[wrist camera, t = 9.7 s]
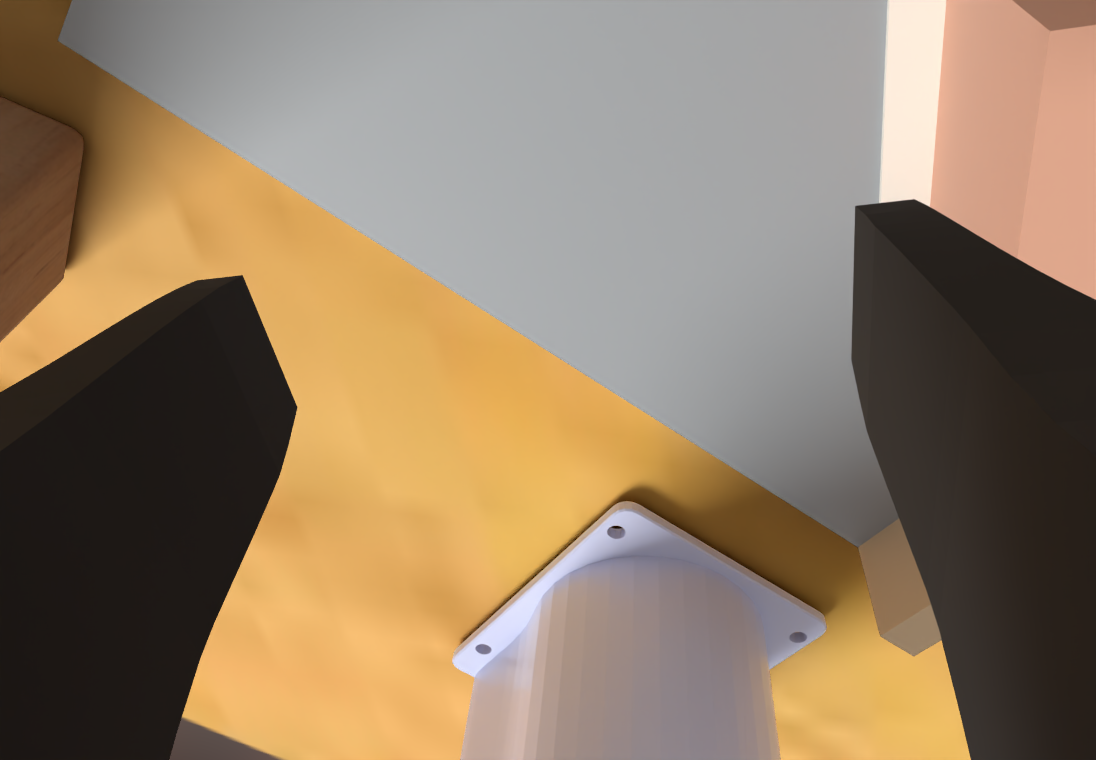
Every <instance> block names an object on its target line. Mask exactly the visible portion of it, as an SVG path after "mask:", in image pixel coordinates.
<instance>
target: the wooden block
mask: <svg viewBox="0 0 1096 760" xmlns="http://www.w3.org/2000/svg"><path fill="white" fill-rule="evenodd" d="M83 149H84V142H83V138H82V135H81V134H80V133H78V132H77V131H76V130H75V129H73V128H72V127H69V126H67V125H65V124H62V123H60V122H58V121H55V120H53V119H51V118H49V117H46V116H44V115H42V114H39V113H37V112H35V111H32V110H30V109H28V108H26V107H23V106H21V105H19V104H16V103H14V102H12V101H10V100H7V99H5V98H3V97H0V342H1V341H2V340H3V339H4V338H5V337H6V336H7V335H8V334H9V333H10V332H11V331H12V330H13V329H14V328H15V327H16V326H17V325H18V324H19V323H20V322H21V321H22V320H23V319H24V318H25V317H26V316H27V315H28V314H29V313H30V312H31V311H32V310H33V309H34V308H35V307H36V306H37V305H38V304H39V303H40V302H41V301H42V300H43V299H44V298H45V297H46V296H47V295H48V294H49V293H50V292H51V291H52V290H53V289H54V288H55V287H56V286H57V285H58V284H59V283H60V282H61V281H62V279H63V278H64V272H65V265H66V259H67V252H68V246H69V239H70V233H71V227H72V220H73V214H74V207H75V201H76V194H77V188H78V182H79V175H80V169H81V162H82V156H83Z"/></svg>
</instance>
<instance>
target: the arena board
mask: <svg viewBox="0 0 1096 760" xmlns="http://www.w3.org/2000/svg"><path fill="white" fill-rule="evenodd" d="M887 1H888V0H72V2H71V5H70V8H69V10H68V13H67V16H66V19H65V21H64V24H63V27H62V30H61V33H60V35H59V38H58V41H59V42H60V43H62V44H64V45H65V46H67V47H68V48H70V49H72V50H73V51H75V52H76V53H78V54H79V55H81V56H83V57H84V58H86V59H87V60H89V61H90V62H92V63H94V64H95V65H97V66H98V67H100V68H102V69H103V70H105V71H106V72H108V73H109V74H111V75H113V76H114V77H116V78H117V79H119V80H120V81H122V82H124V83H125V84H127V85H128V86H130V87H132V88H133V89H135V90H136V91H138V92H139V93H141V94H143V95H144V96H146V97H147V98H149V99H151V100H152V101H154V102H155V103H157V104H158V105H160V106H162V107H163V108H165V109H166V110H168V111H169V112H171V113H173V114H174V115H176V116H177V117H179V118H181V119H182V120H184V121H185V122H187V123H188V124H190V125H192V126H193V127H195V128H196V129H198V130H199V131H201V132H203V133H204V134H206V135H207V136H209V137H211V138H212V139H214V140H215V141H217V142H218V143H220V144H222V145H223V146H225V147H226V148H228V149H229V150H231V151H233V152H234V153H236V154H237V155H239V156H241V157H242V158H244V159H245V160H247V161H248V162H250V163H252V164H253V165H255V166H256V167H258V168H259V169H261V170H263V171H264V172H266V173H267V174H269V175H271V176H272V177H274V178H275V179H277V180H278V181H280V182H282V183H283V184H285V185H286V186H288V187H290V188H291V189H293V190H294V191H296V192H297V193H299V194H301V195H302V196H304V197H305V198H307V199H308V200H310V201H312V202H313V203H315V204H316V205H318V206H320V207H321V208H323V209H324V210H326V211H327V212H329V213H331V214H332V215H334V216H335V217H337V218H338V219H340V220H342V221H343V222H345V223H346V224H348V225H350V226H351V227H353V228H354V229H356V230H357V231H359V232H361V233H362V234H364V235H365V236H367V237H368V238H370V239H372V240H373V241H375V242H376V243H378V244H380V245H381V246H383V247H384V248H386V249H387V250H389V251H391V252H392V253H394V254H395V255H397V256H398V257H400V258H402V259H403V260H405V261H406V262H408V263H410V264H411V265H413V266H414V267H416V268H417V269H419V270H421V271H422V272H424V273H425V274H427V275H429V276H430V277H432V278H433V279H435V280H436V281H438V282H440V283H441V284H443V285H444V286H446V287H447V288H449V289H451V290H452V291H454V292H455V293H457V294H459V295H460V296H462V297H463V298H465V299H466V300H468V301H470V302H471V303H473V304H474V305H476V306H477V307H479V308H481V309H482V310H484V311H485V312H487V313H489V314H490V315H492V316H493V317H495V318H496V319H498V320H500V321H501V322H503V323H504V324H506V325H507V326H509V327H511V328H512V329H514V330H515V331H517V332H519V333H520V334H522V335H523V336H525V337H526V338H528V339H530V340H531V341H533V342H534V343H536V344H537V345H539V346H541V347H542V348H544V349H545V350H547V351H549V352H550V353H552V354H553V355H555V356H556V357H558V358H560V359H561V360H563V361H564V362H566V363H568V364H569V365H571V366H572V367H574V368H575V369H577V370H579V371H580V372H582V373H583V374H585V375H586V376H588V377H590V378H591V379H593V380H594V381H596V382H598V383H599V384H601V385H602V386H604V387H605V388H607V389H609V390H610V391H612V392H613V393H615V394H616V395H618V396H620V397H621V398H623V399H624V400H626V401H628V402H629V403H631V404H632V405H634V406H635V407H637V408H639V409H640V410H642V411H643V412H645V413H646V414H648V415H650V416H651V417H653V418H654V419H656V420H658V421H659V422H661V423H662V424H664V425H665V426H667V427H669V428H670V429H672V430H673V431H675V432H676V433H678V434H680V435H681V436H683V437H684V438H686V439H688V440H689V441H691V442H692V443H694V444H695V445H697V446H699V447H700V448H702V449H703V450H705V451H707V452H708V453H710V454H711V455H713V456H714V457H716V458H718V459H719V460H721V461H722V462H724V463H725V464H727V465H729V466H730V467H732V468H733V469H735V470H737V471H738V472H740V473H741V474H743V475H744V476H746V477H748V478H749V479H751V480H752V481H754V482H755V483H757V484H759V485H760V486H762V487H763V488H765V489H767V490H768V491H770V492H771V493H773V494H774V495H776V496H778V497H779V498H781V499H782V500H784V501H785V502H787V503H789V504H790V505H792V506H793V507H795V508H797V509H798V510H800V511H801V512H803V513H804V514H806V515H808V516H809V517H811V518H812V519H814V520H816V521H817V522H819V523H820V524H822V525H823V526H825V527H827V528H828V529H830V530H831V531H833V532H834V533H836V534H838V535H839V536H841V537H842V538H844V539H846V540H847V541H849V542H850V543H852V544H853V545H855V546H857V547H858V550H859V554H860V558H861V562H862V566H863V570H864V574H865V578H866V582H867V586H868V590H869V594H870V598H871V602H872V606H873V610H874V614H875V618H876V622H877V626H878V630H879V634H880V636H881V637H882V638H884V639H886V640H887V641H889V642H891V643H892V644H894V645H896V646H897V647H899V648H901V649H902V650H904V651H906V652H907V653H909V654H911V655H912V656H915V655H917V654H919V653H920V652H922V651H924V650H925V649H927V648H929V647H930V646H932V645H934V644H936V643H937V642H939V641H941V640H942V639H941V635H940V632H939V628H938V625H937V622H936V619H935V615H934V612H933V609H932V606H931V603H930V600H929V597H928V594H927V591H926V588H925V585H924V583H923V580H922V578H921V575H920V572H919V570H918V567H917V564H916V562H915V559H914V556H913V554H912V551H911V548H910V546H909V543H908V540H907V538H906V535H905V533H904V530H903V527H902V525H901V522H900V519H899V517H898V514H897V511H896V509H895V506H894V503H893V501H892V498H891V496H890V493H889V490H888V488H887V485H886V482H885V480H884V477H883V474H882V471H881V469H880V466H879V463H878V461H877V458H876V455H875V453H874V450H873V447H872V444H871V442H870V439H869V436H868V433H867V430H866V426H865V421H864V417H863V412H862V408H861V404H860V399H859V394H858V390H857V385H856V380H855V375H854V371H853V366H852V361H851V350H852V311H853V272H854V232H855V206H858V205H867V204H876V203H879V192H880V169H881V145H882V121H883V97H884V73H885V49H886V25H887Z"/></svg>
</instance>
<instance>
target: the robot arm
mask: <svg viewBox="0 0 1096 760" xmlns="http://www.w3.org/2000/svg"><path fill="white" fill-rule="evenodd" d="M851 361H852V366H853V371H854V375H855V380H856V385H857V390H858V394H859V399H860V404H861V408H862V412H863V417H864V421H865V426H866V430H867V433H868V436H869V439H870V442H871V444H872V447H873V450H874V453H875V455H876V458H877V461H878V463H879V466H880V469H881V471H882V474H883V477H884V480H885V482H886V485H887V488H888V490H889V493H890V496H891V498H892V501H893V503H894V506H895V509H896V511H897V514H898V517H899V519H900V522H901V525H902V527H903V530H904V533H905V535H906V538H907V540H908V543H909V546H910V548H911V551H912V554H913V556H914V559H915V562H916V564H917V567H918V570H919V572H920V575H921V578H922V580H923V583H924V585H925V588H926V591H927V594H928V597H929V600H930V603H931V606H932V609H933V612H934V615H935V619H936V622H937V625H938V628H939V632H940V635H941V639H942V643H943V647H944V651H945V655H946V659H947V663H948V667H949V671H950V675H951V679H952V683H953V687H954V691H955V695H956V699H957V703H958V707H959V711H960V715H961V719H962V723H963V727H964V732H965V736H966V740H967V744H968V748H969V753H970V757H971V760H1096V300H1095V299H1093V298H1091V297H1089V296H1087V295H1085V294H1083V293H1081V292H1079V291H1077V290H1075V289H1073V288H1071V287H1069V286H1067V285H1065V284H1063V283H1061V282H1059V281H1057V280H1055V279H1054V278H1052V277H1050V276H1048V275H1046V274H1044V273H1042V272H1040V271H1039V270H1037V269H1035V268H1033V267H1031V266H1030V265H1028V264H1026V263H1024V262H1022V261H1021V260H1019V259H1017V258H1015V257H1014V256H1012V255H1010V254H1008V253H1007V252H1005V251H1003V250H1002V249H1000V248H998V247H997V246H995V245H993V244H991V243H990V242H988V241H986V240H985V239H983V238H981V237H980V236H978V235H976V234H975V233H973V232H971V231H970V230H968V229H966V228H965V227H963V226H961V225H960V224H958V223H956V222H955V221H953V220H952V219H950V218H948V217H946V216H945V215H943V214H941V213H940V212H938V211H936V210H935V209H933V208H931V207H929V206H927V205H925V204H924V203H921V202H919V201H917V200H915V199H911V200H902V201H893V202H885V203H876V204H867V205H858V206H855V232H854V272H853V311H852V350H851ZM296 411H297V406H296V403H295V401H294V398H293V396H292V393H291V391H290V389H289V386H288V384H287V381H286V379H285V377H284V374H283V372H282V369H281V367H280V365H279V362H278V360H277V357H276V355H275V352H274V350H273V348H272V345H271V343H270V340H269V338H268V336H267V333H266V331H265V328H264V326H263V324H262V321H261V319H260V316H259V314H258V311H257V309H256V307H255V304H254V302H253V299H252V297H251V295H250V292H249V290H248V287H247V285H246V283H245V280H244V278H243V275H241V276H232V277H224V278H215V279H206V280H197V281H195V282H192V283H190V284H187V285H185V286H183V287H180V288H178V289H176V290H174V291H172V292H170V293H168V294H166V295H164V296H162V297H161V298H159V299H157V300H155V301H153V302H152V303H150V304H148V305H146V306H144V307H143V308H141V309H139V310H138V311H136V312H134V313H132V314H131V315H129V316H127V317H126V318H124V319H122V320H121V321H119V322H118V323H116V324H114V325H113V326H111V327H109V328H108V329H106V330H104V331H103V332H101V333H99V334H98V335H96V336H95V337H93V338H91V339H90V340H88V341H86V342H85V343H83V344H81V345H80V346H78V347H77V348H75V349H73V350H72V351H70V352H68V353H67V354H65V355H63V356H62V357H60V358H59V359H57V360H55V361H54V362H52V363H50V364H49V365H47V366H45V367H44V368H42V369H40V370H38V371H37V372H35V373H33V374H31V375H30V376H28V377H26V378H24V379H23V380H21V381H19V382H18V383H16V384H14V385H12V386H11V387H9V388H7V389H5V390H4V391H2V392H0V760H169V759H170V755H171V751H172V748H173V744H174V740H175V737H176V733H177V730H178V727H179V724H180V721H181V717H182V714H183V711H184V708H185V705H186V702H187V699H188V695H189V692H190V689H191V686H192V683H193V680H194V676H195V673H196V670H197V667H198V664H199V661H200V658H201V655H202V653H203V650H204V648H205V645H206V642H207V640H208V637H209V635H210V632H211V630H212V627H213V625H214V622H215V620H216V618H217V616H218V613H219V611H220V609H221V607H222V605H223V602H224V600H225V598H226V596H227V593H228V591H229V589H230V587H231V584H232V582H233V580H234V578H235V576H236V573H237V571H238V569H239V567H240V564H241V562H242V560H243V558H244V556H245V553H246V551H247V549H248V547H249V545H250V542H251V540H252V538H253V536H254V533H255V531H256V529H257V527H258V524H259V522H260V520H261V518H262V515H263V513H264V511H265V508H266V506H267V504H268V501H269V499H270V497H271V495H272V492H273V490H274V487H275V485H276V483H277V480H278V478H279V475H280V472H281V469H282V465H283V462H284V458H285V455H286V451H287V448H288V444H289V440H290V436H291V432H292V428H293V424H294V419H295V415H296ZM612 526H620V527H622V528H620V529H615V528H611V527H612ZM826 628H827V626H826V621H825V617H824V615H823V614H822V613H821V612H819V611H817V610H816V609H814V608H812V607H811V606H809V605H807V604H806V603H804V602H802V601H801V600H799V599H797V598H796V597H794V596H792V595H791V594H789V593H787V592H786V591H784V590H782V589H780V588H779V587H777V586H775V585H774V584H772V583H770V582H769V581H767V580H765V579H764V578H762V577H760V576H759V575H757V574H755V573H754V572H752V571H750V570H749V569H747V568H745V567H744V566H742V565H740V564H738V563H737V562H735V561H733V560H732V559H730V558H728V557H727V556H725V555H723V554H722V553H720V552H718V551H717V550H715V549H713V548H712V547H710V546H708V545H707V544H705V543H703V542H702V541H700V540H698V539H696V538H695V537H693V536H691V535H690V534H688V533H686V532H685V531H683V530H681V529H680V528H678V527H676V526H675V525H673V524H671V523H670V522H668V521H666V520H665V519H663V518H661V517H660V516H658V515H656V514H654V513H653V512H651V511H649V510H648V509H646V508H644V507H643V506H641V505H639V504H637V503H635V502H631V501H623V502H619V503H617V504H615V505H614V506H613V507H612V508H610V509H609V510H608V511H607V512H606V513H605V514H604V515H603V516H602V517H601V518H599V519H598V520H597V521H596V522H595V523H594V524H593V525H592V526H591V527H589V528H588V529H587V530H586V531H585V532H584V533H583V534H582V535H581V536H580V537H578V538H577V539H576V540H575V541H574V542H573V543H572V544H571V545H570V546H569V547H567V548H566V549H565V550H564V551H563V552H562V553H561V554H560V555H559V556H557V557H556V558H555V559H554V560H553V561H552V562H551V563H550V564H549V565H548V566H546V567H545V568H544V569H543V570H542V571H541V572H540V573H539V574H538V575H537V576H535V577H534V578H533V579H532V580H531V581H530V582H529V583H528V584H527V585H526V586H524V587H523V588H522V589H521V590H520V591H519V592H518V593H517V594H516V595H514V596H513V597H512V598H511V599H510V600H509V601H508V602H507V603H506V604H505V605H503V606H502V607H501V608H500V609H499V610H498V611H497V612H496V613H495V614H494V615H492V616H491V617H490V618H489V619H488V620H487V621H486V622H485V623H484V624H483V625H481V626H480V627H479V628H478V629H477V630H476V631H475V632H474V633H473V634H471V635H470V636H469V637H468V638H467V639H466V640H465V641H464V642H463V643H462V644H460V645H459V646H458V647H457V648H456V649H455V651H454V654H453V664H454V666H455V667H456V668H458V669H459V670H461V671H463V672H465V673H467V674H469V675H471V676H473V677H475V678H474V684H473V690H472V695H471V701H470V707H469V712H468V718H467V724H466V729H465V735H464V740H463V746H462V752H461V757H460V760H781V758H780V750H779V742H778V734H777V727H776V719H775V711H774V703H773V695H772V687H771V679H770V671H769V670H770V669H771V668H773V667H774V666H776V665H777V664H779V663H780V662H782V661H783V660H785V659H786V658H788V657H790V656H791V655H793V654H794V653H796V652H797V651H799V650H800V649H802V648H803V647H805V646H806V645H808V644H809V643H811V642H812V641H814V640H815V639H817V638H818V637H820V636H821V635H823V634H824V633H825V632H826Z"/></svg>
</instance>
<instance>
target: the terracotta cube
mask: <svg viewBox="0 0 1096 760" xmlns="http://www.w3.org/2000/svg"><path fill="white" fill-rule="evenodd" d="M930 207H931V208H933V209H935V210H936V211H938V212H940V213H941V214H943V215H945V216H946V217H948V218H950V219H952V220H953V221H955V222H956V223H958V224H960V225H961V226H963V227H965V228H966V229H968V230H970V231H971V232H973V233H975V234H976V235H978V236H980V237H981V238H983V239H985V240H986V241H988V242H990V243H991V244H993V245H995V246H997V247H998V248H1000V249H1002V250H1003V251H1005V252H1007V253H1008V254H1010V255H1012V256H1014V257H1015V258H1017V259H1019V260H1021V261H1022V262H1024V263H1026V264H1028V265H1030V266H1031V267H1033V268H1035V269H1037V270H1039V271H1040V272H1042V273H1044V274H1046V275H1048V276H1050V277H1052V278H1054V279H1055V280H1057V281H1059V282H1061V283H1063V284H1065V285H1067V286H1069V287H1071V288H1073V289H1075V290H1077V291H1079V292H1081V293H1083V294H1085V295H1087V296H1089V297H1091V298H1093V299H1095V300H1096V0H946V11H945V24H944V36H943V49H942V62H941V74H940V87H939V100H938V112H937V125H936V137H935V150H934V163H933V175H932V188H931V201H930Z"/></svg>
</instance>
